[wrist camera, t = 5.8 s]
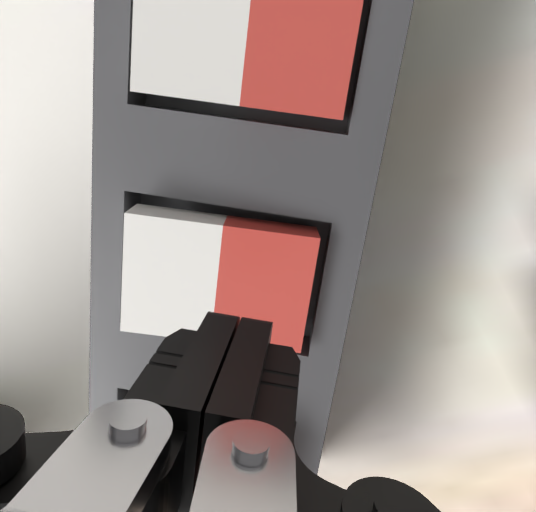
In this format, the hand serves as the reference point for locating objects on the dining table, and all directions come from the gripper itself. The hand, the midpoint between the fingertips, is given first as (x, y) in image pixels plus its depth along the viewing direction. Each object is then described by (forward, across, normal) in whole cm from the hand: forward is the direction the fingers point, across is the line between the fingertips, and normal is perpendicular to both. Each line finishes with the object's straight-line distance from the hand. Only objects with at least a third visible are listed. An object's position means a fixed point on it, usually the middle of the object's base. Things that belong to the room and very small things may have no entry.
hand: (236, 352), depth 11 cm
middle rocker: (+5, +1, 0) cm, 5 cm away
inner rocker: (+5, +1, -7) cm, 9 cm away
